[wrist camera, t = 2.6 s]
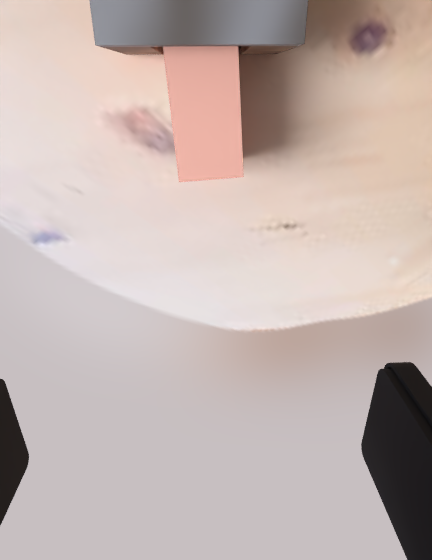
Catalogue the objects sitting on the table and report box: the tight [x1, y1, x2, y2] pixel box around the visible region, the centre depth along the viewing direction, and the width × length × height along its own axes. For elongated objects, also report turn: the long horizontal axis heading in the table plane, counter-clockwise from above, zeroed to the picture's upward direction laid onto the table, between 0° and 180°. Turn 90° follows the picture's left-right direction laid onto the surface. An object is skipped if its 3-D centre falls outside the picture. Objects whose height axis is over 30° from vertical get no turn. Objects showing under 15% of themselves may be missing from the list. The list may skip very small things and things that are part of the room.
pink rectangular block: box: [163, 46, 244, 182], centre depth 23 cm, size 4×14×6 cm, turn 4°
